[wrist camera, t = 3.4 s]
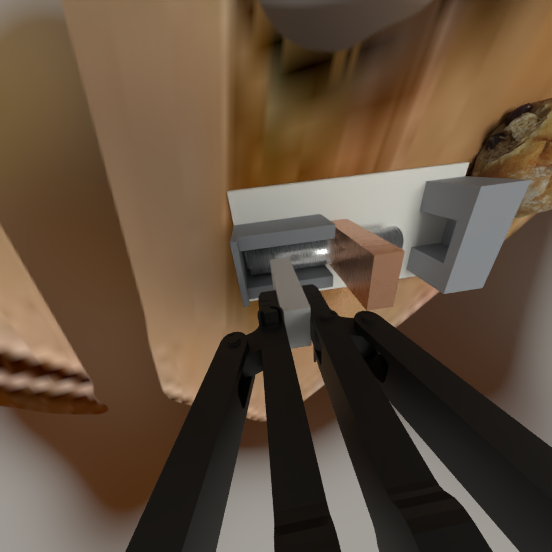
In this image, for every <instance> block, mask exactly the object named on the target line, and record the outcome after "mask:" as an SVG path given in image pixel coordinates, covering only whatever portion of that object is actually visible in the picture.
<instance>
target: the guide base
mask: <svg viewBox="0 0 552 552" xmlns="http://www.w3.org/2000/svg"><path fill="white" fill-rule="evenodd" d="M468 166H469V162H459V163H451V164H443V165H435V166H426V167H418V168H410V169H402V170H394V171H385V172H377V173H369V174H361V175H353V176H344V177H336V178H328V179H320V180H312V181H303V182H295V183H287V184H279V185H271V186H262V187H254V188H246V189H238V190H230V191H227V194H228V199H229V204H230V209H231V214H232V219H233V224H234V226H233V231H232V235H231V239H230V246H231V251H232V255H233V260H234V264H235V269H236V273H237V278H238V283H239V287H240V292H241V296H242V301H243V305H244V307H245V306H249V301H255V300H258V297H259V295H260V293H261V292H266V291H272V290H274V289H273V282H272V274H271V273H264V274H257V275H251V272H250V268H249V262H248V255H247V250H255V249H262V248H269V247H276V246H284V245H291V244H298V243H305V242H312V241H320V240H327V239H334V238H335V224H334V223H333V222H331V221H334V220H342V219H348V220H350V221H352V222H354V223H355V224H357V225H359V226H361V227H363V228H364V229H374V228H381V227H388V226H397V227H398V228H399V229H400V230H401V231H402V234H403V239H404V243H403V247H402V250H404V251H405V253H404V258H403V262H402V267H401V272H400V276H399V279H400V278H406V277H413V276H417V277H419V278H420V279H422V280H423V281H425V282H426V283H428V284H429V285H431V286H432V287H434V288H436V289H437V290H439V291H440V292H442V293H443V294H446V293H453V292H458V291H465V290H472V289H478V288H482V287H483V286H484V283H485V281H486V279H487V277H488V274H489V272H490V270H491V268H492V265H493V263H494V261H495V259H496V257H497V254H498V252H499V250H500V247H501V245H502V243H503V241H504V239H505V237H506V235H507V232H508V230H509V228H510V226H511V224H512V221H513V219H514V217H515V215H516V212H517V210H518V208H519V206H520V204H521V201H522V199H523V197H524V195H525V192H526V190H527V188H528V186H529V184H530V181H531V180H524V179H506V178H488V177H470V176H465V175H466V172H467V169H468ZM294 271H295V273H296V275H297V278H298V280H299V282H300V284H301V286H302V285H309V284H313V285H315V286H316V287H318V289H319V291H321V290H328V289H334V288H341V287H347V286H346V285H345V283H344V282H343V281H342V280H341V278H340V277H339V276H338V275H337V273H336V272H335V271H334V270H333V268H332V267H331V266H330V265H329V264H326V265H319V266H312V267H305V268H298V269H294Z"/></svg>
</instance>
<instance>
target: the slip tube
mask: <svg viewBox="0 0 552 552" xmlns="http://www.w3.org/2000/svg"><path fill="white" fill-rule="evenodd" d="M331 222H333V223H334V224H335V238H334V239H327V240H320V241H312V242H305V243H298V244H291V245H284V246H276V247H269V248H262V249H255V250H247V255H248V262H249V268H250V272H251V275H257V274H264V273H271V266H270V260H271V259H278V258H285V257H289V259H290V262H291V264H292V266H293V268H294V269H298V268H305V267H312V266H319V265H326V264H329V265H330V266H331V267H332V268H333V270H334V271H335V272H336V273H337V275H338V276H339V277H340V278H341V280H342V281H343V282H344V283H345V285H346V286H347V287H348V288H349V289H350V291H351V292H352V293H353V294H354V296H355V297H356V298H357V299H358V301H359V302H360V303H361V304H362V306H363V307H364V308H365V309H366V310H367V311H368V310H374V309H381V308H387V307H393V304H394V299H395V295H396V290H397V285H398V281H399V276H400V272H401V267H402V262H403V258H404V253H405V251H404V250H402V247H403V243H404V239H403V234H402V231H401V230H400V229H399V228H398V227H397V226H388V227H381V228H374V229H364V228H363V227H361V226H359V225H357V224H355V223H354V222H352V221H350V220H348V219H342V220H334V221H331Z"/></svg>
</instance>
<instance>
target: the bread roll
mask: <svg viewBox="0 0 552 552" xmlns="http://www.w3.org/2000/svg"><path fill="white" fill-rule="evenodd" d="M470 177H488V178H506V179H524V180H531V181H530V184H529V186H528V188H527V190H526V192H525V195H524V197H523V199H522V201H521V204H520V206H519V208H518V210H517V212H516V215H515V218H521V217H524V216H526V215H530V214H533V213H539V212H544V211H547V210H551V209H552V98H551V99H546V100H543V101H539V102H534V103H532V104H530V103H528V104H525V105H522V106H520V107H518V108H516V109H515V110H514V111H513V112H511V114H510V115H509V117H508V118H507V119H506V122H504V123H503V124H502V125H500V126H498V127H497V128H496V129H495V130H494V132H493V133H492V135H491V136H490V137H489V138H488V139H487V141H486V142H485V145H484V147H483V148H482V150H481V151H480V153H479V154H478V156H477V158H476V161H475V164H474V168H473V170H472V173H471V175H470Z"/></svg>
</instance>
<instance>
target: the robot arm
mask: <svg viewBox="0 0 552 552" xmlns="http://www.w3.org/2000/svg"><path fill="white" fill-rule="evenodd" d="M270 266H271V274H272V282H273V289H274V290H272V291H266V292H261V293H260V295H259V297H258V300H259V311H258V320H259V327H258V328H257V329H256V330H255V331H254V332H252V333H250V334H248V335H245V334H244V333H242V332H233V333H230V334H228V335H226V336H225V337H224V338H223V339H222V341H221V342H220V345H219V347H218V349H217V351H216V353H215V356H214V358H213V360H212V362H211V364H210V367H209V369H208V371H207V373H206V375H205V378H204V380H203V382H202V384H201V387H200V389H199V391H198V393H197V395H196V398H195V400H194V402H193V404H192V406H191V409H190V411H189V413H188V415H187V418H186V420H185V422H184V424H183V426H182V429H181V431H180V433H179V435H178V437H177V439H176V442H175V444H174V446H173V448H172V450H171V453H170V455H169V457H168V459H167V461H166V464H165V466H164V468H163V471H162V472H161V475H160V477H159V479H158V481H157V483H156V486H155V488H154V490H153V492H152V495H151V497H150V499H149V501H148V503H147V505H146V508H145V510H144V512H143V514H142V516H141V519H140V521H139V523H138V525H137V528H136V530H135V532H134V534H133V536H132V539H131V541H130V543H129V545H128V547H127V549H126V552H216V548H217V543H218V539H219V535H220V530H221V526H222V521H223V517H224V512H225V508H226V503H227V499H228V495H229V490H230V486H231V481H232V477H233V472H234V468H235V464H236V459H237V455H238V450H239V446H240V441H241V437H242V432H243V428H244V424H245V419H246V415H247V410H248V406H249V401H250V397H251V393H252V388H253V384H254V379H255V374H257V373H259V372H261V371H263V377H264V390H265V404H266V417H267V430H268V443H269V456H270V469H271V483H272V497H273V510H274V550H275V552H341V549H340V545H339V541H338V538H337V534H336V530H335V527H334V524H333V521H332V518H331V516H330V512H329V509H328V505H327V501H326V497H325V493H324V488H323V484H322V480H321V476H320V471H319V467H318V463H317V458H316V454H315V450H314V446H313V442H312V437H311V433H310V429H309V424H308V420H307V416H306V412H305V407H304V403H303V399H302V395H301V390H300V386H299V382H298V378H297V373H296V369H295V365H294V360H293V356H292V352H291V349H292V348H298V347H304V346H310V345H311V340H312V342H313V345H314V362H316V360H317V363H318V366H319V369H320V372H321V375H322V378H323V381H324V383H325V386H326V389H327V392H328V395H329V398H330V401H331V404H332V407H333V409H334V412H335V415H336V418H337V421H338V424H339V427H340V430H341V433H342V436H343V438H344V441H345V444H346V447H347V450H348V453H349V456H350V459H351V461H352V464H353V467H354V470H355V473H356V476H357V479H358V482H359V485H360V488H361V490H362V493H363V496H364V499H365V502H366V505H367V508H368V511H369V513H370V517H371V519H372V522H373V526H374V529H375V533H376V538H377V544H378V548H379V552H493V551H492V550H491V548H490V547H489V545H488V544H487V542H486V540H485V539H484V537H483V536H482V534H481V532H480V531H479V529H478V528H477V526H476V525H475V523H474V521H473V520H472V518H471V517H470V516H469V514H468V513H467V511H466V510H465V509H464V507H463V506H462V505H461V504H460V503H459V502H458V501H457V500H456V499H455V498H454V497H453V496H451V495H450V494H448V493H447V492H445V491H444V490H443V489H442V488H441V487H440V486H439V484H438V483H437V481H436V480H435V478H434V476H433V475H432V473H431V471H430V470H429V468H428V466H427V465H426V463H425V461H424V460H423V458H422V456H421V454H420V453H419V451H418V450H417V448H416V446H415V444H414V443H413V441H412V439H411V438H410V436H409V434H408V433H407V431H406V429H405V428H404V426H403V424H402V422H401V421H400V419H399V417H398V416H397V414H396V412H395V411H394V409H393V407H392V405H393V406H394V407H395V408H396V409H397V411H398V412H399V413H400V414H401V415H402V416H403V417H404V419H405V420H406V421H407V422H408V423H409V424H410V426H411V427H412V428H413V429H414V430H415V431H416V432H417V434H418V435H419V436H420V437H421V438H422V439H423V441H424V442H425V443H426V444H427V445H428V446H429V447H430V449H431V450H432V451H433V452H434V453H435V454H436V456H437V457H438V458H439V459H440V460H441V461H442V462H443V464H444V465H445V466H446V467H447V468H448V469H449V471H450V472H451V473H452V474H453V475H454V476H455V478H457V480H458V481H459V482H460V483H461V484H462V486H463V487H464V488H465V489H466V490H467V491H468V492H469V494H470V495H471V496H472V497H473V498H474V499H475V501H476V502H477V503H478V504H479V505H480V506H481V507H482V509H483V510H484V511H485V512H486V513H487V514H488V516H489V517H490V518H491V519H492V520H493V521H494V522H495V524H496V525H497V526H498V527H499V528H500V529H501V530H502V532H503V533H504V534H505V535H506V536H507V538H508V539H509V540H510V541H511V542H512V543H513V544H514V546H515V547H516V548H517V549H518V550H519V551H520V552H552V447H550V446H549V445H548V444H546V443H545V442H544V441H542V440H541V439H540V438H539V437H537V436H536V435H535V434H533V433H532V432H531V431H529V430H528V429H527V428H525V427H524V426H523V425H522V424H520V423H519V422H518V421H516V420H515V419H514V418H512V417H511V416H510V415H508V414H507V413H506V412H505V411H503V410H502V409H500V408H499V407H498V406H497V405H495V404H494V403H493V402H491V401H490V400H489V399H488V398H486V397H485V396H484V395H482V394H481V393H479V392H478V391H477V390H476V389H474V388H473V387H472V386H471V385H469V384H468V383H467V382H465V381H464V380H463V379H461V378H460V377H459V376H457V375H456V374H455V373H454V372H452V371H451V370H450V369H448V368H447V367H446V366H444V365H443V364H442V363H440V362H439V361H438V360H436V359H435V358H434V357H433V356H431V355H430V354H429V353H427V352H426V351H425V350H423V349H422V348H421V347H419V346H418V345H417V344H416V343H414V342H413V341H412V340H410V339H409V338H408V337H406V336H405V335H404V334H403V333H401V332H400V331H399V330H397V329H396V328H395V327H393V326H392V325H391V324H389V323H388V322H387V321H386V320H384V319H383V318H382V317H380V316H379V315H377V314H376V313H373V312H370V311H361V312H358V313H356V315H355V316H354V318H346V317H340V316H338V314H337V313H336V312H335V311H333V310H330V308H329V307H328V305H327V303H326V301H325V300H324V298H323V297H322V294H321V293H320V291H319V289H318V287H316V286H315V285H313V284H309V285H302V286H301V284H300V282H299V280H298V278H297V275H296V273H295V271H294V268H293V266H292V264H291V262H290V259H289V257H285V258H278V259H271V260H270ZM389 401H390V402H391V404H392V405H391V404H390V402H389Z"/></svg>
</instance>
